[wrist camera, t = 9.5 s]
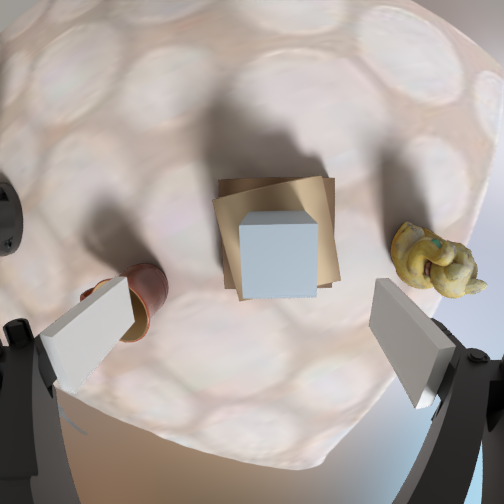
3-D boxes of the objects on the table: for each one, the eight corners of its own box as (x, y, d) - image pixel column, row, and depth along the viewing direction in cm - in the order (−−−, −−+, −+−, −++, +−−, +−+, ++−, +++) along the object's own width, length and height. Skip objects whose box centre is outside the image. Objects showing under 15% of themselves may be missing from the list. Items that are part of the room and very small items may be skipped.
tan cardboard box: (229, 278, 41) (224, 288, 37) (224, 179, 37) (218, 179, 34) (326, 277, 40) (331, 287, 36) (328, 177, 36) (334, 177, 32)
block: (251, 265, 32) (242, 298, 23) (248, 211, 30) (238, 225, 22) (305, 264, 31) (316, 297, 23) (305, 210, 30) (318, 223, 21)
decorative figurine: (443, 240, 36) (504, 270, 22) (419, 287, 39) (470, 333, 24) (398, 212, 36) (457, 233, 22) (373, 263, 38) (419, 308, 24)
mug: (174, 257, 40) (145, 283, 30) (177, 312, 42) (153, 347, 33) (105, 253, 41) (67, 273, 31) (111, 303, 43) (79, 332, 33)
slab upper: (243, 288, 37) (239, 301, 33) (219, 197, 34) (212, 200, 30) (334, 269, 35) (340, 280, 32) (316, 175, 33) (321, 175, 29)
